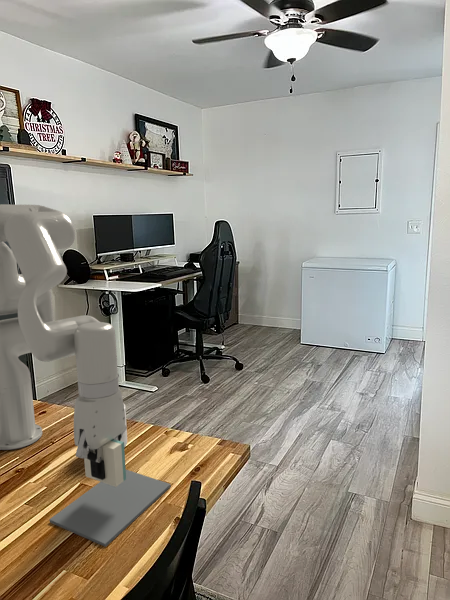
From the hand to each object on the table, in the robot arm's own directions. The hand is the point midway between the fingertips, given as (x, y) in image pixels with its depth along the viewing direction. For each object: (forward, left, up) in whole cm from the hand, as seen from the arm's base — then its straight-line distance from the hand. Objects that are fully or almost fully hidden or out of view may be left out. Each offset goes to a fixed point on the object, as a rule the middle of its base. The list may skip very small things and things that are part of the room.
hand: (104, 472), depth 92 cm
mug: (-13, +16, -7) cm, 22 cm away
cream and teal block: (0, 0, -1) cm, 1 cm away
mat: (+2, 0, -7) cm, 7 cm away
